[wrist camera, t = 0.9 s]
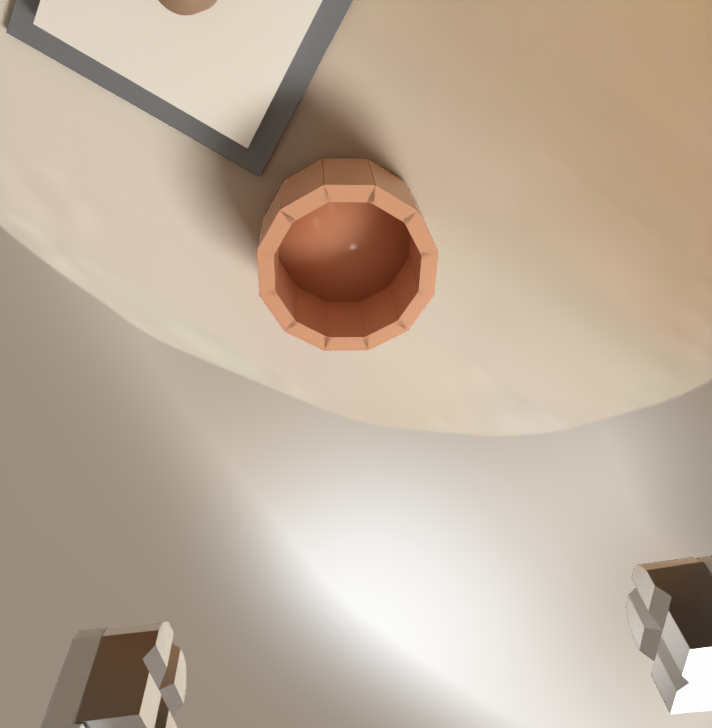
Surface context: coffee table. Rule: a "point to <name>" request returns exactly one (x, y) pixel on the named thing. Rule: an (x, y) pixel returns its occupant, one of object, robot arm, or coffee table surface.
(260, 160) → the mat
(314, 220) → the bowl
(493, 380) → the coffee table surface
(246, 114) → the lid
